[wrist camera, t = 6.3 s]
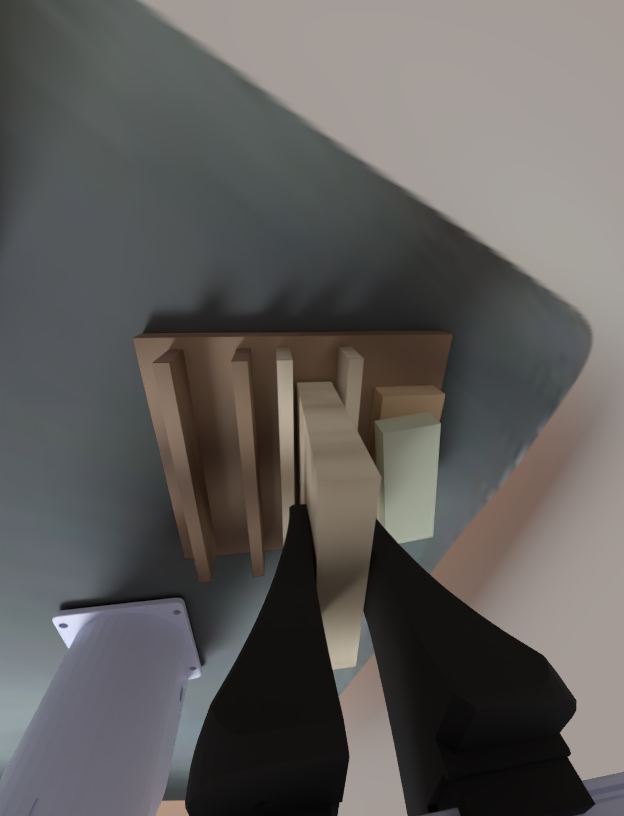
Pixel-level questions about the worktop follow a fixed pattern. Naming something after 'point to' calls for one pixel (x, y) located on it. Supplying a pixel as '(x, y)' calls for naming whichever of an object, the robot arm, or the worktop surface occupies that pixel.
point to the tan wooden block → (336, 512)
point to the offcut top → (407, 474)
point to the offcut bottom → (403, 406)
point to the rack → (259, 421)
